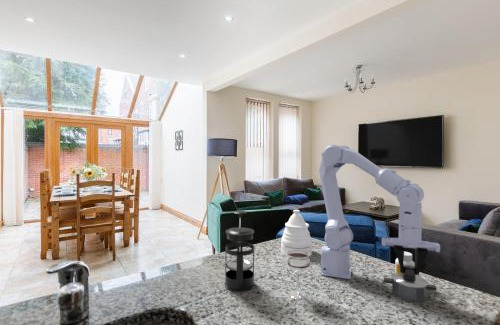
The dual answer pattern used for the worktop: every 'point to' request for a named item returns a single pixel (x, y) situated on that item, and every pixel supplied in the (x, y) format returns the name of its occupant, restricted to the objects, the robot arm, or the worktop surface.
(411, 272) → the lid
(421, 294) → the pot
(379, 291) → the worktop surface
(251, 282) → the french press
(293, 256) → the wineglass
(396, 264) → the supplement bottle
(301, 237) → the honey pot
